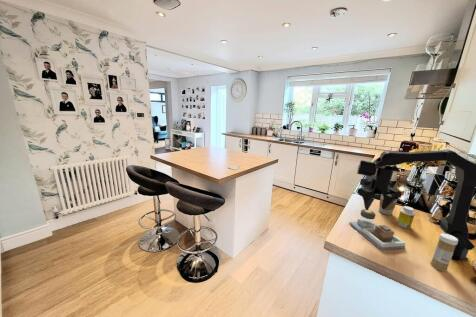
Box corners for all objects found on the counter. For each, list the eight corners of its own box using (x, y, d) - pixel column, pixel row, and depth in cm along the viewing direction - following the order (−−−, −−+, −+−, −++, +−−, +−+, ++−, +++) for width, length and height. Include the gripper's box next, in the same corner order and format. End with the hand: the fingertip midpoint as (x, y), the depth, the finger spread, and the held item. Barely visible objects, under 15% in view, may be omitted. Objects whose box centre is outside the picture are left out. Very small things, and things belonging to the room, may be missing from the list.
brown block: (391, 241, 85) (394, 230, 83) (382, 242, 84) (385, 230, 82) (381, 234, 89) (384, 223, 88) (373, 234, 89) (376, 224, 87)
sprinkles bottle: (445, 266, 73) (457, 236, 70) (447, 273, 70) (460, 242, 66) (429, 260, 76) (439, 231, 73) (430, 267, 73) (441, 236, 69)
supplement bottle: (408, 229, 96) (413, 211, 94) (395, 224, 101) (400, 206, 98) (412, 226, 99) (417, 209, 97) (399, 221, 104) (403, 204, 101)
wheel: (377, 219, 92) (378, 214, 92) (366, 219, 92) (367, 215, 91) (367, 212, 98) (368, 208, 98) (357, 213, 97) (358, 208, 97)
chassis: (404, 248, 82) (407, 240, 82) (380, 249, 81) (382, 242, 80) (369, 223, 101) (371, 216, 100) (349, 224, 99) (350, 217, 98)
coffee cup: (394, 212, 113) (401, 189, 109) (393, 217, 107) (400, 193, 103) (377, 207, 118) (383, 185, 115) (375, 212, 112) (381, 188, 109)
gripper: (384, 172, 95) (376, 200, 99) (352, 172, 92) (345, 201, 96) (406, 180, 85) (397, 212, 89) (371, 181, 82) (362, 213, 86)
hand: (374, 209), depth 90 cm, fingers open, 9 cm apart
